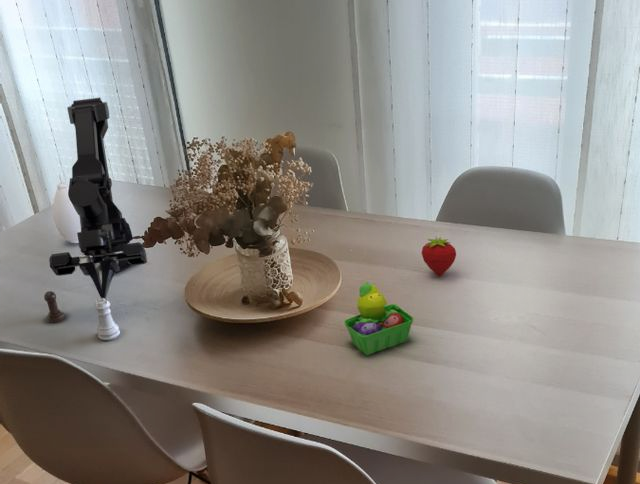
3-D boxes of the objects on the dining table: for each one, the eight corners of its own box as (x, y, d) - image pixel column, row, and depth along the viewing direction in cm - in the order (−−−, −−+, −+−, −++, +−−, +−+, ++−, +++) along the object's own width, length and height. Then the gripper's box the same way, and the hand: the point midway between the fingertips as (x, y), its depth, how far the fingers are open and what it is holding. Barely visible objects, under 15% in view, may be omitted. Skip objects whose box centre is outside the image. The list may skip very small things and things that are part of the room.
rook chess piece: (124, 331, 176) (116, 296, 172) (113, 342, 173) (104, 307, 169) (105, 329, 178) (97, 294, 173) (94, 340, 174) (85, 305, 170)
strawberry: (449, 284, 182) (449, 241, 176) (417, 279, 185) (416, 236, 180) (460, 273, 186) (461, 230, 181) (428, 267, 189) (427, 225, 184)
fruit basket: (363, 361, 159) (360, 307, 153) (341, 340, 166) (336, 288, 160) (416, 342, 163) (414, 289, 157) (391, 323, 170) (389, 271, 164)
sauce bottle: (88, 247, 215) (71, 177, 205) (57, 249, 215) (38, 180, 206) (95, 234, 221) (79, 166, 212) (65, 236, 222) (48, 169, 212)
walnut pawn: (58, 313, 185) (50, 286, 182) (67, 317, 184) (60, 290, 180) (44, 320, 183) (37, 293, 180) (54, 324, 181) (46, 297, 178)
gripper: (38, 217, 169) (46, 292, 166) (134, 204, 171) (143, 278, 167) (53, 239, 180) (60, 309, 177) (142, 226, 182) (151, 296, 178)
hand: (103, 298), depth 174 cm, fingers closed
